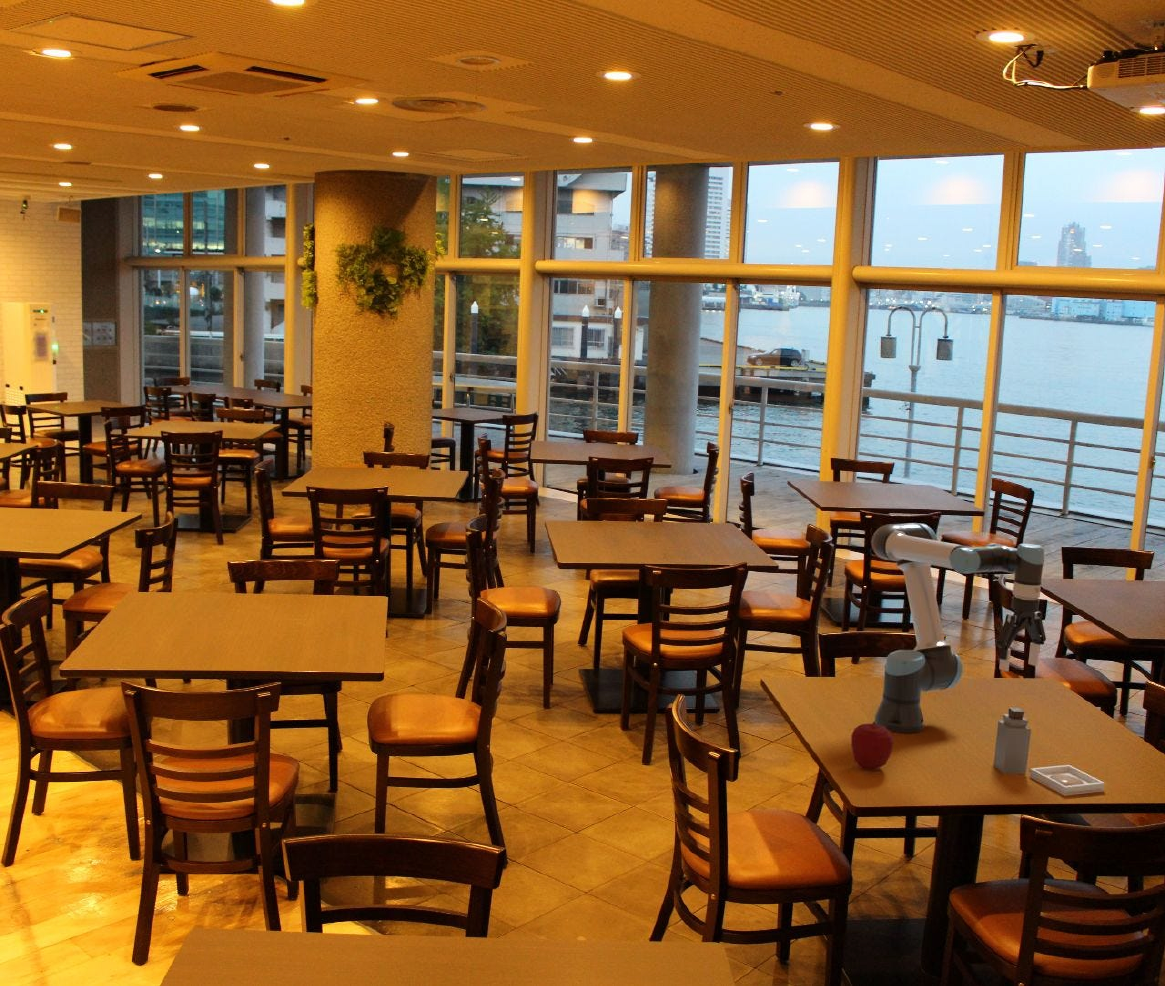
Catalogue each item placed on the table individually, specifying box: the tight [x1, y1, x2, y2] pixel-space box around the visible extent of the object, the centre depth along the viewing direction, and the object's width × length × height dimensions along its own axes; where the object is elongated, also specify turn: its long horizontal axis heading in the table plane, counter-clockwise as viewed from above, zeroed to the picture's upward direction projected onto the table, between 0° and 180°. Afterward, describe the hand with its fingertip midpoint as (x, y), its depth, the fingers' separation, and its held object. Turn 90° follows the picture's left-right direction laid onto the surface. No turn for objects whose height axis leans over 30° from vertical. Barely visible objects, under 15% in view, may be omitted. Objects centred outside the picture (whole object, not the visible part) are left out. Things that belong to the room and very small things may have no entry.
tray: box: [1029, 764, 1106, 796], centre depth 349 cm, size 14×14×2 cm
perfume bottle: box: [993, 707, 1032, 775], centre depth 356 cm, size 7×7×18 cm
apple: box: [850, 722, 894, 771], centre depth 351 cm, size 12×12×13 cm
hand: (1018, 667), depth 365 cm, fingers open, 13 cm apart
